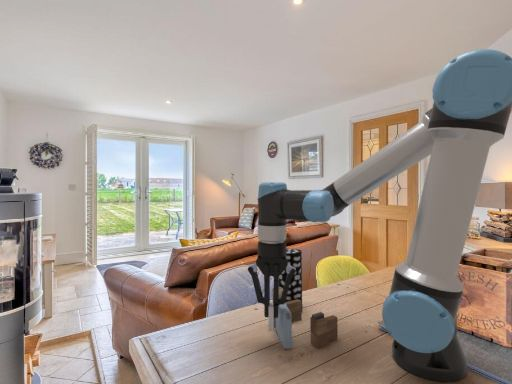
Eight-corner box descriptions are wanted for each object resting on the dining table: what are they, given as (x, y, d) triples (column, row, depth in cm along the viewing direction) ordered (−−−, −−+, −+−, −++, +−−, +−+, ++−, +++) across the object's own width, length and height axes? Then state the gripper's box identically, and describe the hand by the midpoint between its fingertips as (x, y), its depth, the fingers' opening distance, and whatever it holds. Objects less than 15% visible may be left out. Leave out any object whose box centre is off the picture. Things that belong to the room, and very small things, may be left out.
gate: (275, 329, 87) (275, 298, 87) (282, 328, 88) (281, 297, 88) (285, 352, 75) (285, 316, 75) (293, 351, 75) (292, 316, 75)
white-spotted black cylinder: (301, 316, 96) (301, 254, 96) (275, 314, 97) (275, 253, 97) (302, 306, 104) (302, 248, 104) (279, 304, 106) (278, 248, 105)
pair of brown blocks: (339, 340, 81) (339, 299, 80) (309, 351, 75) (309, 308, 75) (298, 316, 95) (298, 282, 95) (271, 325, 90) (270, 288, 90)
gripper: (296, 238, 82) (295, 324, 82) (250, 237, 84) (250, 321, 84) (296, 244, 74) (295, 338, 75) (245, 242, 76) (245, 334, 77)
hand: (271, 329), depth 79 cm, fingers closed
